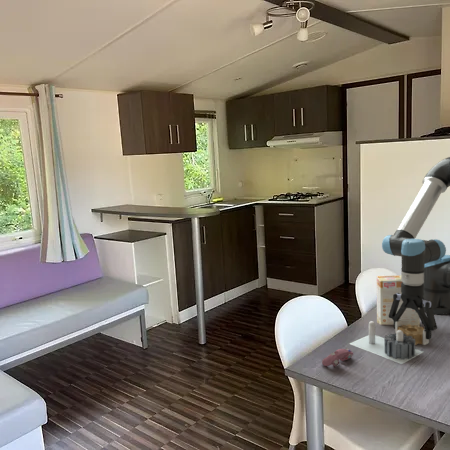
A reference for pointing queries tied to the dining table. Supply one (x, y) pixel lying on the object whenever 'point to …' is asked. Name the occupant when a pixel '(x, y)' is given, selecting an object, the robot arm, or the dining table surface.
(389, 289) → the coffeecake box
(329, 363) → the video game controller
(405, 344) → the gear
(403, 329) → the wooden gear
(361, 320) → the dining table surface
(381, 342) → the gear board
